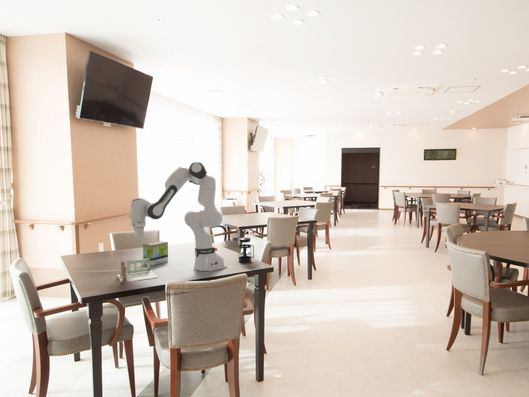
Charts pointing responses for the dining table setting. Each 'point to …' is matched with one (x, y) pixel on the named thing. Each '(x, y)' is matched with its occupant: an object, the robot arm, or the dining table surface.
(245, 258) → the french press
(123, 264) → the hinge post
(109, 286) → the dining table surface
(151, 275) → the mat
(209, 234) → the robot arm
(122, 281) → the latch post
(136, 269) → the gate
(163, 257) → the tea box
